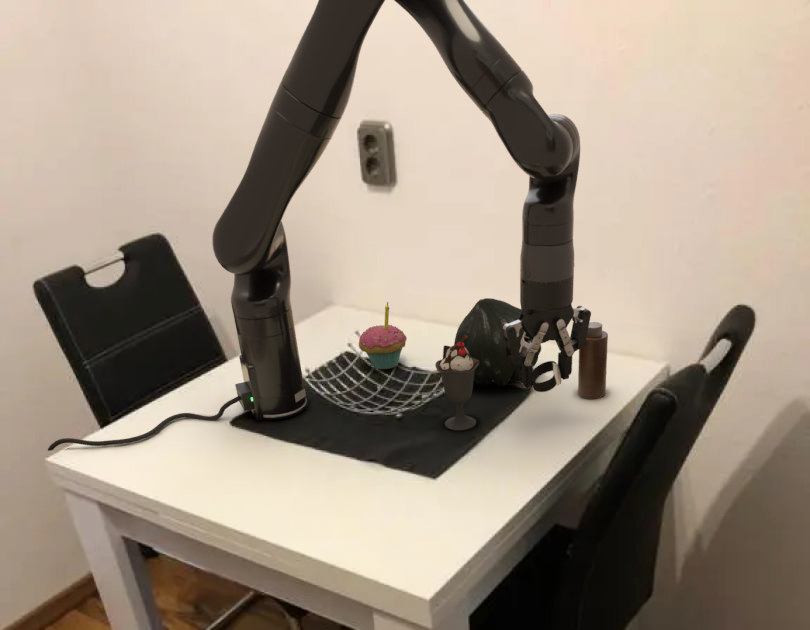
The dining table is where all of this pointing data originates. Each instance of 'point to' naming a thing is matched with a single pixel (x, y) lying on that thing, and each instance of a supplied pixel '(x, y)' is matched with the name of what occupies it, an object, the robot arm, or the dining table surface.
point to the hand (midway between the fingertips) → (545, 381)
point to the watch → (550, 383)
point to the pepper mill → (593, 363)
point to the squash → (490, 341)
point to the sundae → (458, 382)
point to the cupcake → (383, 344)
